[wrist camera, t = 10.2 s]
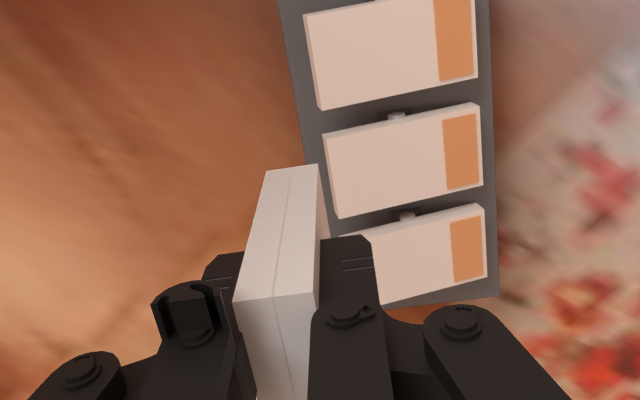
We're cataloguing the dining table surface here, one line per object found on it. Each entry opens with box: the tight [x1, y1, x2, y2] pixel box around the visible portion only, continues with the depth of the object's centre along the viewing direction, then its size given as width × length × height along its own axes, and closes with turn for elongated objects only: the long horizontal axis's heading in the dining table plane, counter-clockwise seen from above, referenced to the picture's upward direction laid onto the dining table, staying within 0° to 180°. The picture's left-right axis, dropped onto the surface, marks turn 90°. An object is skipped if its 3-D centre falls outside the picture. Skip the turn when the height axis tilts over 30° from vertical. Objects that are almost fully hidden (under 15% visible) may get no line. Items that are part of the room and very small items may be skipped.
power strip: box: [277, 0, 500, 310], centre depth 44 cm, size 14×31×6 cm, turn 9°
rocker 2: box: [322, 102, 483, 219], centre depth 41 cm, size 11×6×2 cm, turn 99°
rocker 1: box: [303, 0, 478, 111], centre depth 38 cm, size 11×6×2 cm, turn 99°
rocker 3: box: [339, 202, 487, 305], centre depth 44 cm, size 11×6×2 cm, turn 99°
